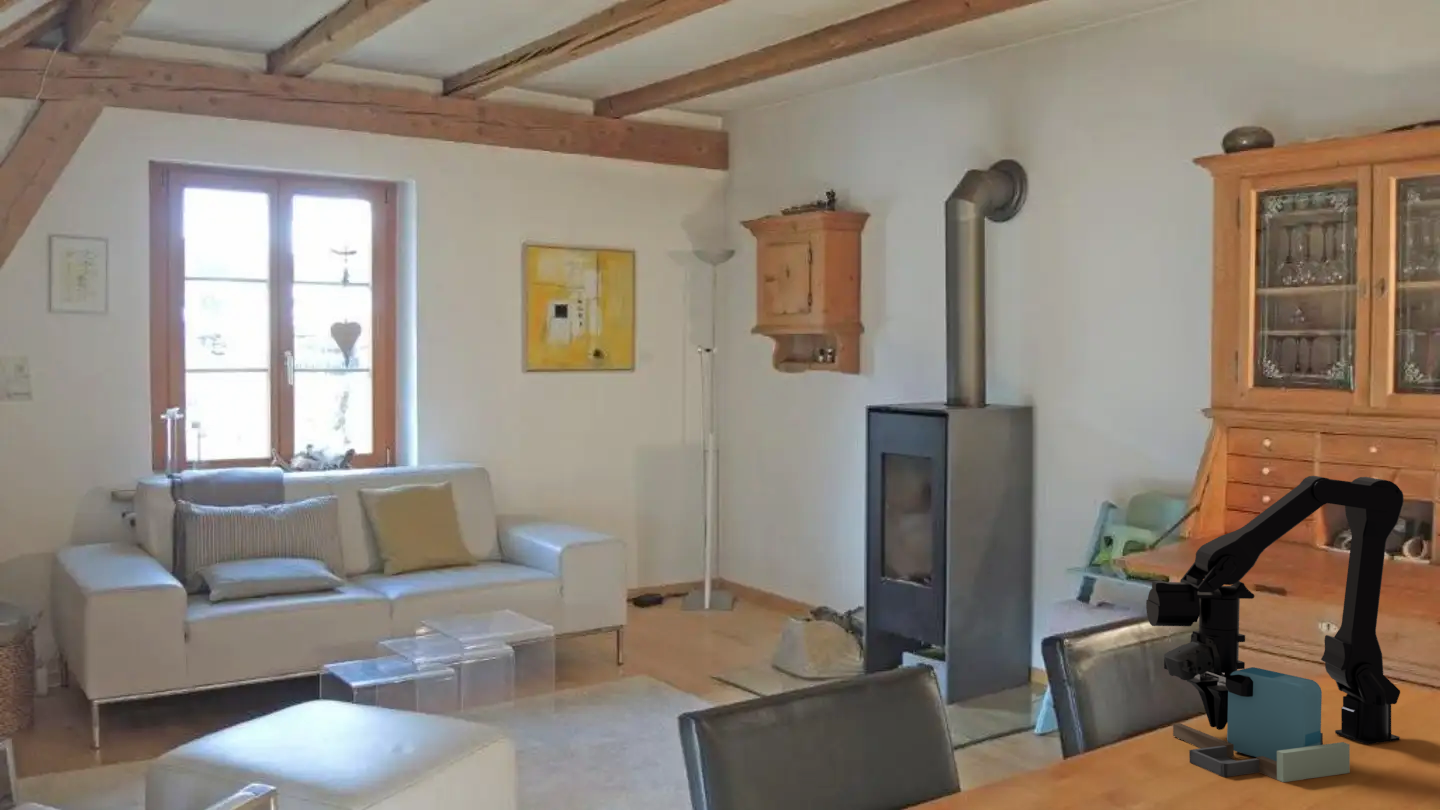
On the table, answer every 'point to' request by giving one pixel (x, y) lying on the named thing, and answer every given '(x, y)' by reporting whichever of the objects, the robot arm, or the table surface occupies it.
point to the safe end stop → (1313, 761)
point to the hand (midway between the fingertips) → (1217, 728)
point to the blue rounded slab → (1274, 714)
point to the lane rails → (1207, 740)
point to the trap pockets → (1224, 761)
